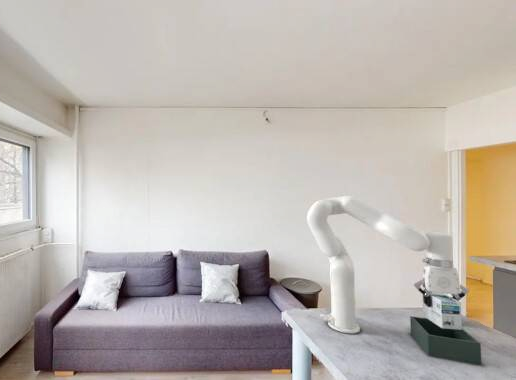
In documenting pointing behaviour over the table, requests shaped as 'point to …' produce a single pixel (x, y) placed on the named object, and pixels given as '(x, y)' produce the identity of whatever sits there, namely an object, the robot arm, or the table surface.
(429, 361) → the table surface
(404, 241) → the robot arm
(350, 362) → the table surface
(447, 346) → the open storage box
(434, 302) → the light bulb box
